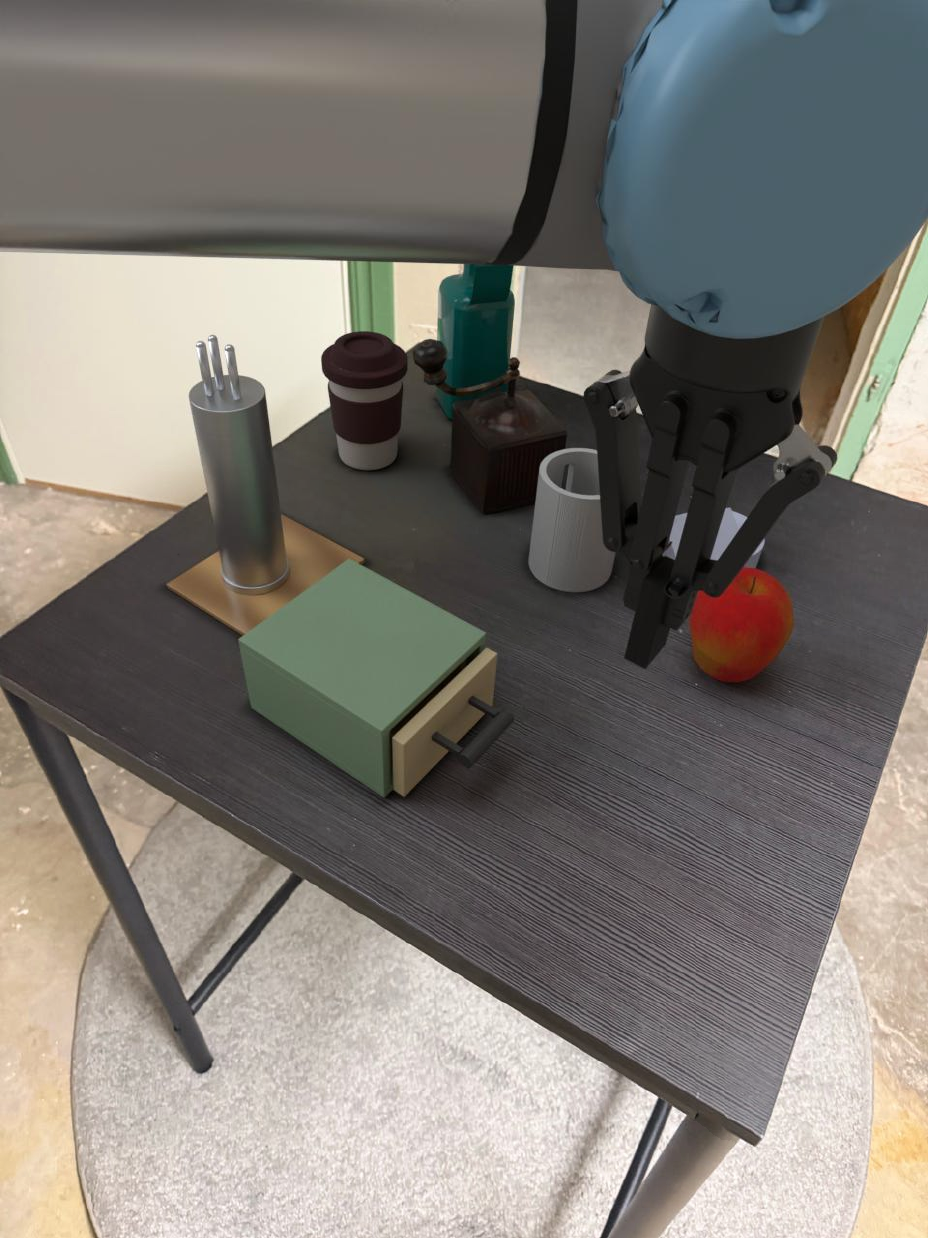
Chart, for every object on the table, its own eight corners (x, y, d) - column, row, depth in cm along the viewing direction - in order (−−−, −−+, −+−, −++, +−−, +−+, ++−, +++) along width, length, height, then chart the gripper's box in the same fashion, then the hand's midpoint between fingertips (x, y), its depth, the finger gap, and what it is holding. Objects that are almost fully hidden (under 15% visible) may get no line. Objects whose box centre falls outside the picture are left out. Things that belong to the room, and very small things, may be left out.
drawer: (531, 728, 77) (539, 675, 72) (444, 824, 69) (447, 773, 65) (370, 634, 85) (368, 581, 80) (277, 712, 77) (268, 658, 72)
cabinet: (481, 700, 80) (486, 632, 74) (384, 798, 72) (381, 731, 66) (353, 625, 87) (349, 557, 81) (251, 707, 79) (237, 639, 72)
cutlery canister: (293, 590, 89) (263, 356, 72) (223, 599, 88) (175, 362, 70) (286, 548, 94) (257, 319, 76) (220, 556, 93) (175, 324, 75)
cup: (576, 604, 91) (593, 511, 82) (511, 563, 95) (521, 471, 87) (627, 565, 95) (648, 474, 87) (563, 528, 100) (577, 438, 92)
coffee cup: (377, 426, 114) (374, 316, 104) (423, 460, 109) (425, 348, 98) (313, 451, 109) (303, 338, 99) (358, 487, 104) (352, 372, 94)
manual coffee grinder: (520, 450, 111) (533, 315, 99) (561, 497, 104) (581, 358, 92) (407, 474, 106) (406, 335, 94) (442, 526, 99) (446, 382, 87)
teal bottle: (432, 394, 121) (435, 231, 106) (489, 387, 123) (500, 226, 108) (453, 430, 114) (460, 262, 99) (513, 422, 116) (528, 256, 101)
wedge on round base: (676, 600, 92) (773, 570, 96) (690, 551, 87) (791, 521, 91) (629, 550, 97) (723, 524, 102) (640, 501, 93) (737, 476, 97)
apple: (755, 719, 80) (795, 625, 72) (663, 681, 83) (690, 587, 75) (780, 657, 86) (820, 564, 78) (693, 624, 89) (722, 531, 81)
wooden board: (255, 644, 84) (254, 640, 84) (167, 588, 90) (166, 583, 89) (364, 562, 94) (364, 558, 94) (279, 516, 99) (278, 512, 99)
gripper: (919, 290, 38) (766, 665, 54) (652, 216, 43) (586, 577, 59) (864, 351, 33) (715, 739, 49) (573, 260, 38) (525, 638, 55)
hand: (645, 651), depth 54 cm, fingers closed
